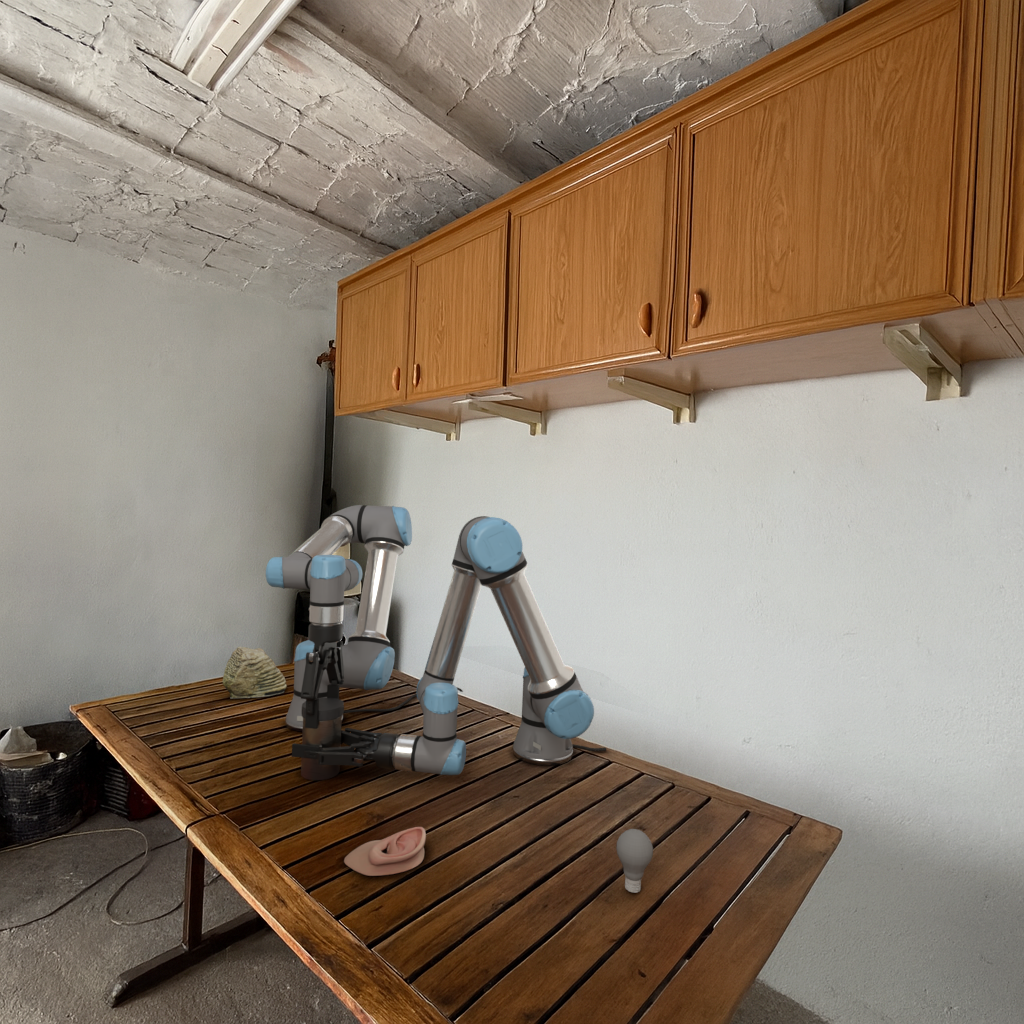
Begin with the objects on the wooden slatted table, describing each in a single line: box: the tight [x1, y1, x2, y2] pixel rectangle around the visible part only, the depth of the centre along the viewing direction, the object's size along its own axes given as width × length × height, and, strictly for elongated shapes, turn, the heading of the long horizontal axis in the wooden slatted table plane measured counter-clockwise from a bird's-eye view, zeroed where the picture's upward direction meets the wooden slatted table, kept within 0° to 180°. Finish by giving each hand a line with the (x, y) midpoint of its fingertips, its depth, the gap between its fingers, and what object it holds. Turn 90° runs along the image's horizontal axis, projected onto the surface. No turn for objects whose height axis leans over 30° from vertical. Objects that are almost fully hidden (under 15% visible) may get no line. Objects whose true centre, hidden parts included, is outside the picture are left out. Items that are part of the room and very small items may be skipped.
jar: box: [300, 716, 343, 781], centre depth 145 cm, size 8×8×15 cm
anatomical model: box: [343, 826, 427, 877], centre depth 112 cm, size 13×4×12 cm
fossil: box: [222, 646, 288, 699], centre depth 198 cm, size 9×18×15 cm, turn 132°
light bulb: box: [615, 828, 654, 894], centre depth 106 cm, size 6×6×10 cm
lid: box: [301, 698, 345, 721], centre depth 145 cm, size 9×9×2 cm
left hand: (322, 719), depth 145 cm, fingers open, 10 cm apart
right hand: (302, 742), depth 146 cm, fingers closed on jar, 8 cm apart
